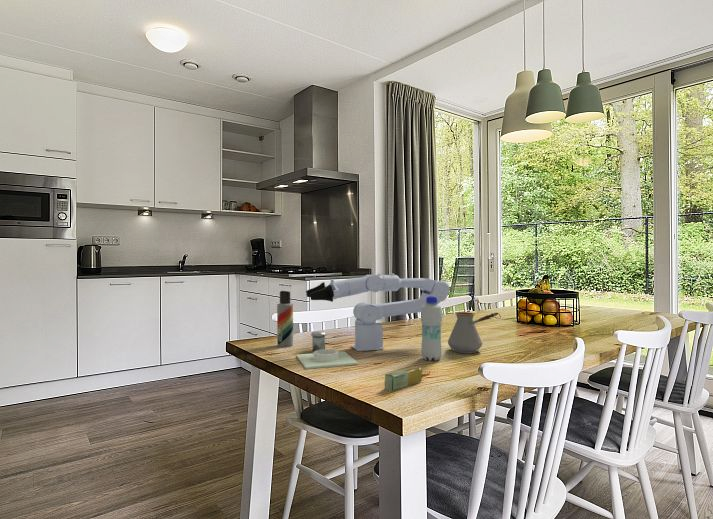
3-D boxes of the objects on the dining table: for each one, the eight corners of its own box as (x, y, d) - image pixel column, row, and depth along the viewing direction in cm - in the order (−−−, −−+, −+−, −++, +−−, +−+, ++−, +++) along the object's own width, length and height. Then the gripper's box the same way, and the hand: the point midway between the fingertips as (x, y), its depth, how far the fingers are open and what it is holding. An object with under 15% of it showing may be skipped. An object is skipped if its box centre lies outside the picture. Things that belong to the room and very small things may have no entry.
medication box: (391, 392, 106) (392, 376, 106) (383, 389, 108) (384, 373, 108) (422, 382, 115) (422, 367, 114) (414, 379, 116) (414, 365, 116)
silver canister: (324, 347, 155) (324, 331, 155) (327, 351, 150) (327, 333, 150) (309, 348, 153) (309, 331, 153) (313, 352, 148) (312, 334, 148)
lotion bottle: (274, 346, 157) (273, 291, 157) (282, 343, 163) (282, 289, 162) (288, 347, 155) (287, 291, 155) (296, 344, 161) (295, 290, 160)
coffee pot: (440, 349, 152) (440, 306, 152) (466, 345, 157) (466, 304, 157) (484, 363, 133) (484, 314, 132) (512, 358, 138) (512, 311, 138)
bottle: (443, 357, 140) (443, 295, 140) (440, 362, 134) (440, 297, 133) (422, 355, 142) (422, 294, 142) (418, 360, 136) (418, 296, 135)
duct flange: (343, 352, 147) (343, 345, 147) (358, 364, 132) (358, 356, 132) (296, 356, 142) (296, 348, 142) (305, 369, 127) (305, 360, 127)
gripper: (340, 274, 158) (303, 281, 154) (350, 278, 144) (310, 286, 140) (343, 294, 158) (306, 301, 155) (353, 299, 145) (313, 307, 141)
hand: (308, 295), depth 148 cm, fingers open, 7 cm apart
